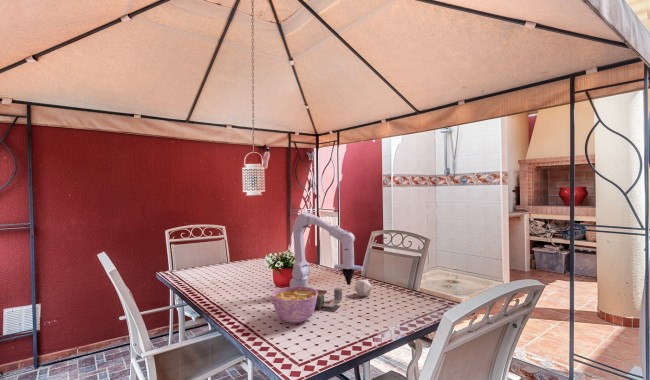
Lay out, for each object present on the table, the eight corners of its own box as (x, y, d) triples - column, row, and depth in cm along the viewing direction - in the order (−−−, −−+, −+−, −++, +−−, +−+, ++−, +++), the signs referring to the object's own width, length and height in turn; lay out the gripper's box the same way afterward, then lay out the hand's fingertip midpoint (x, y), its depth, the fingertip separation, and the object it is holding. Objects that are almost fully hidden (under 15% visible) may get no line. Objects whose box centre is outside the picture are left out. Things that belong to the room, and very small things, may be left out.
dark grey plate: (322, 310, 149) (322, 309, 149) (328, 304, 157) (328, 304, 157) (334, 312, 147) (334, 311, 147) (340, 306, 155) (340, 305, 155)
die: (367, 300, 163) (376, 283, 167) (351, 291, 165) (361, 274, 168) (365, 301, 171) (373, 284, 175) (350, 292, 173) (359, 276, 176)
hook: (312, 307, 153) (311, 294, 153) (323, 297, 167) (323, 286, 167) (331, 309, 150) (331, 297, 150) (341, 299, 163) (341, 288, 163)
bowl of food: (276, 311, 149) (276, 286, 149) (319, 311, 149) (319, 286, 149) (267, 329, 129) (267, 301, 129) (317, 329, 129) (316, 300, 129)
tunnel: (308, 308, 152) (308, 294, 152) (316, 302, 160) (315, 289, 160) (320, 310, 150) (320, 295, 150) (327, 304, 157) (327, 290, 157)
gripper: (331, 257, 160) (332, 285, 160) (360, 259, 155) (360, 287, 155) (336, 255, 167) (337, 281, 167) (363, 256, 161) (364, 283, 161)
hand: (348, 284), depth 161 cm, fingers closed
